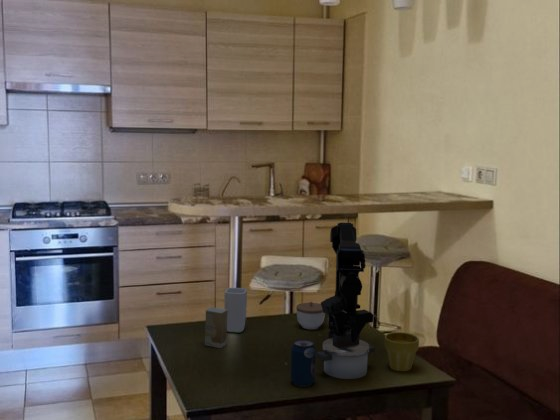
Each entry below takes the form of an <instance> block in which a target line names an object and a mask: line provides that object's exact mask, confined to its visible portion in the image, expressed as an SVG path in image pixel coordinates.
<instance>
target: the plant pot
mask: <svg viewBox="0 0 560 420" xmlns="http://www.w3.org/2000/svg"><path fill="white" fill-rule="evenodd" d="M383 345H384V348H385V349H386V354H387V358H388V359H387V360H388V365H389V369H391V370H393V371H397V372H408V371H410V370H411V369H413V368H412V367H413V363H414V360H415V357H416V353H417V351H418V350H419V346H420V338H419V337H418V336H417V335H415V334H413V333H409V332H406V331H405V332H403V331H393V332H388V333H386V334H385V335H384V344H383Z"/></svg>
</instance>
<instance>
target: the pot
mask: <svg viewBox="0 0 560 420" xmlns="http://www.w3.org/2000/svg"><path fill="white" fill-rule="evenodd" d="M373 353H376V347H374V346H373V345H371V344H369V352H368V353H367V354H365V355H362V356H356V357H343V356H336V355H332V354H330V353H327V352H326V351H324V350H323V351H317V352H315V358H317V359H319V360H321V361H322V362H323V371H324V373H325V374H326V375H328V376H330V377H333V378H336V379H343V380H355V379H360V378H362V377H365V376H366V375H367V373H368V358H369V357H368V354H373Z"/></svg>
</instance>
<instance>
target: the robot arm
mask: <svg viewBox="0 0 560 420" xmlns="http://www.w3.org/2000/svg"><path fill="white" fill-rule="evenodd" d="M329 236H330V237H329V242H330V243H331V248H332V249H333V252H334V253H335V254H336V255H335V256H336V258H335V291H334V295H333V296H329V297H328V298H326V299H324V300H322V301H321V302H320V304H321V306H322V310H323V313H325V315H326V314H327V329H328V330H329V332H328V339H330V338H333V334H335V333H341V332H348V331H351V339H352V342H355V341H356V339H357V338H358V336H359V334H360V335H361V332H362V331H363V329H364V327H365V326H366V324H369V323H374V314H373V313H372V312H371V311H368V310H366V309H361V304H358V301H359V300H358V298H359V297H358V296H361V295H362V290H363V284H362V280H361V279H360V276H359V274H360V273H364V272H365V269H366V255H365V253H364V250H363V249H362V248H361V244H359V243H357V228H356V227H355V226H354V223H351V222H337V224H336V225H335V226H333V227H331V229H330V233H329Z"/></svg>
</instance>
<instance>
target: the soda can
mask: <svg viewBox="0 0 560 420" xmlns="http://www.w3.org/2000/svg"><path fill="white" fill-rule="evenodd" d="M290 350H291V352H290V353H291V354H290V380H291V382H292V384H293V385H295V386H297V387H309V386H311V385H312V384H313V383H314V382H315V379H316V347H315V342H314V341H312V340H310V339H305V338H304V339H302V338H301V339H296V340H294V341H293V345H292V346H291V349H290Z"/></svg>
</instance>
